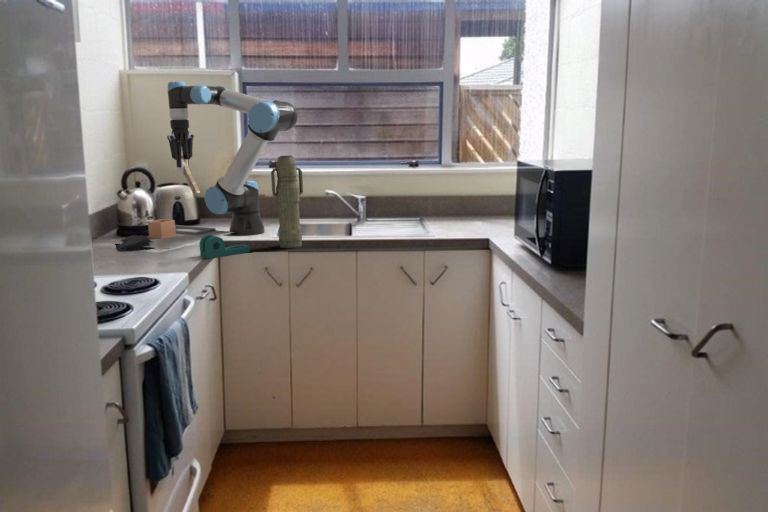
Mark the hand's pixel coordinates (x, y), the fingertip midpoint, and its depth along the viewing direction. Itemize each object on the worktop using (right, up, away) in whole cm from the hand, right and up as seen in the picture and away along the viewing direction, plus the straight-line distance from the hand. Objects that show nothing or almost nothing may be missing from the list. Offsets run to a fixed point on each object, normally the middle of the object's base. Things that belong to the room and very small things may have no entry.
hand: (183, 174), depth 297 cm
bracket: (+28, -35, -40) cm, 60 cm away
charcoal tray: (-2, -25, +7) cm, 26 cm away
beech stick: (+3, -9, 0) cm, 9 cm away
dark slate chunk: (-14, -32, -19) cm, 40 cm away
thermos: (+50, -31, -27) cm, 65 cm away
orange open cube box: (-7, -28, -6) cm, 30 cm away
